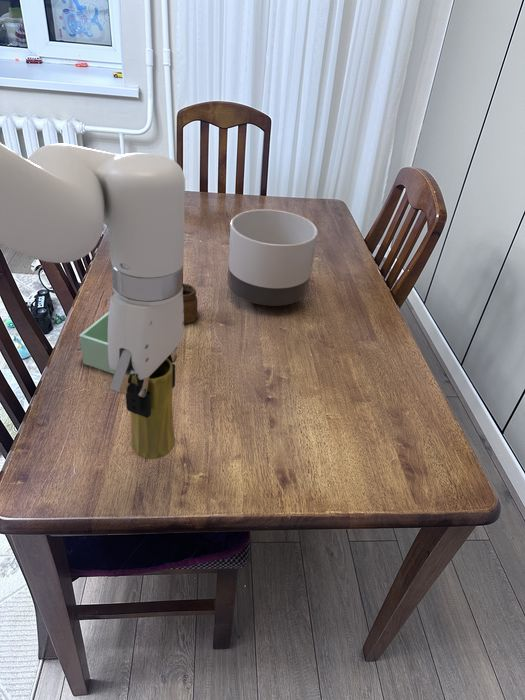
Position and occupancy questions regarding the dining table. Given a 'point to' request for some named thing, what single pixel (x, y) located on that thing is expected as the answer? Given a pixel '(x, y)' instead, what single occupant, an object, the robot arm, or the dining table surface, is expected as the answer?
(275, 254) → the planter
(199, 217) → the dining table surface
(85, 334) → the bin
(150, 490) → the dining table surface
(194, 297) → the utensil holder
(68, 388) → the dining table surface
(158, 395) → the vase
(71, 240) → the robot arm
